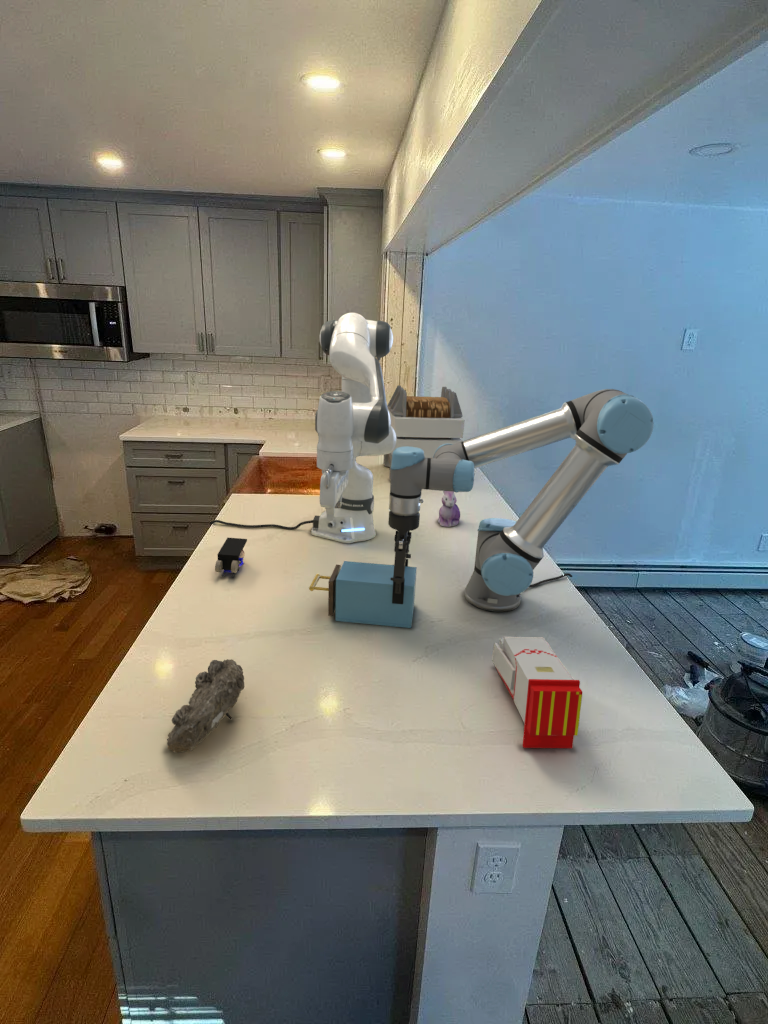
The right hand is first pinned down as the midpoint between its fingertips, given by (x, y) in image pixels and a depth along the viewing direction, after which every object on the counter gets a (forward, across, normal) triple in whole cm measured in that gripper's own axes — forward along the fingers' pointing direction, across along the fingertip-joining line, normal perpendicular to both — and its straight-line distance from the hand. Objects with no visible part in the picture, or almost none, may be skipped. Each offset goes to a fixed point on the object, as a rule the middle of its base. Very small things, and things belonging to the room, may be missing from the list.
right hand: (399, 592), depth 144 cm
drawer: (+6, 0, +11) cm, 13 cm away
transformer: (+7, +137, +2) cm, 137 cm away
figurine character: (+7, +17, +51) cm, 54 cm away
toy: (+7, -29, -29) cm, 42 cm away
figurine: (+7, +71, -12) cm, 72 cm away
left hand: (-19, +3, +18) cm, 26 cm away
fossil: (+7, -44, +32) cm, 55 cm away
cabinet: (+7, 0, +6) cm, 9 cm away
